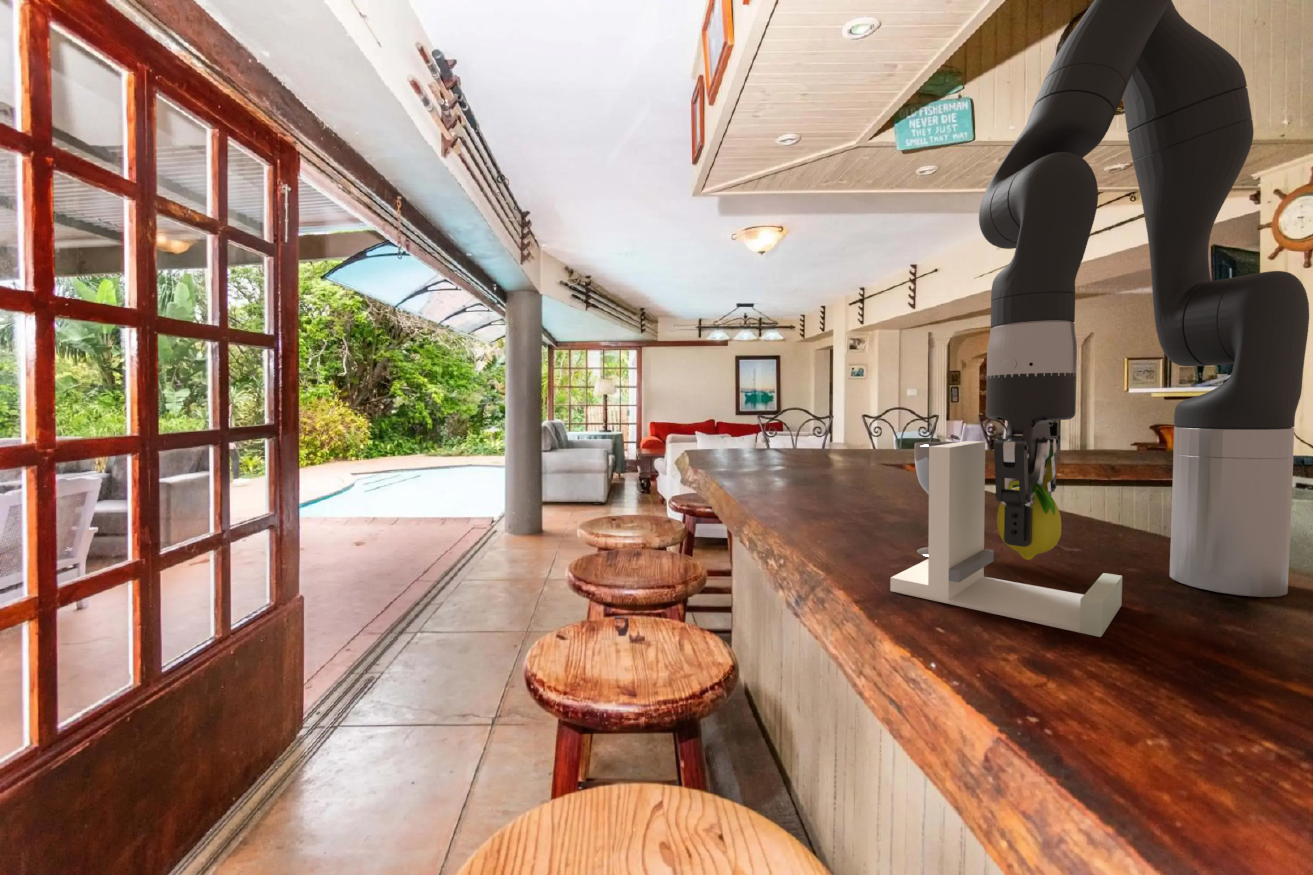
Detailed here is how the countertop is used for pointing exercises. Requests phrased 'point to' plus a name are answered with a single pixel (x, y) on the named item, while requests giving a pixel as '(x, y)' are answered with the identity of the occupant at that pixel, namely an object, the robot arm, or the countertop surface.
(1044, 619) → the white lipped stand
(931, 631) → the countertop surface
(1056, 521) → the lemon
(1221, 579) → the robot arm
